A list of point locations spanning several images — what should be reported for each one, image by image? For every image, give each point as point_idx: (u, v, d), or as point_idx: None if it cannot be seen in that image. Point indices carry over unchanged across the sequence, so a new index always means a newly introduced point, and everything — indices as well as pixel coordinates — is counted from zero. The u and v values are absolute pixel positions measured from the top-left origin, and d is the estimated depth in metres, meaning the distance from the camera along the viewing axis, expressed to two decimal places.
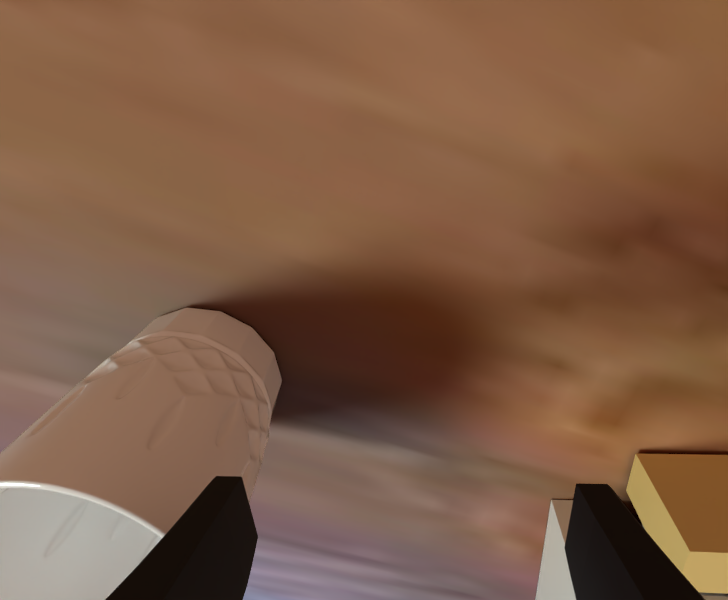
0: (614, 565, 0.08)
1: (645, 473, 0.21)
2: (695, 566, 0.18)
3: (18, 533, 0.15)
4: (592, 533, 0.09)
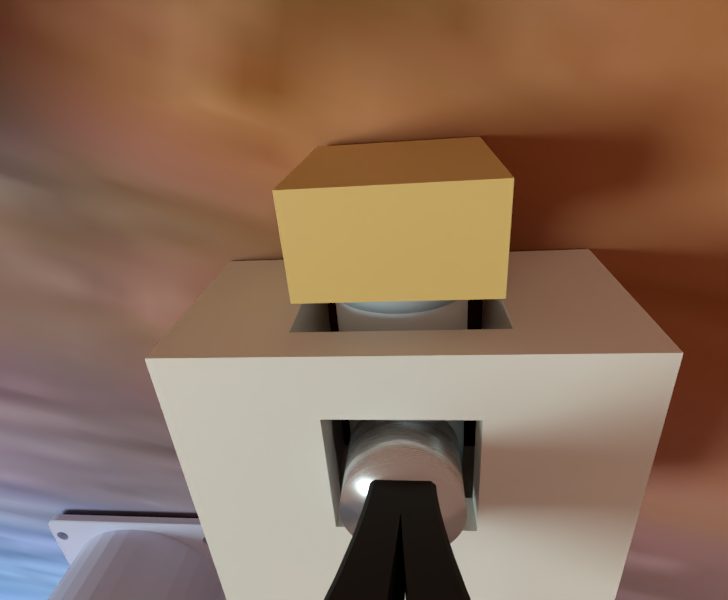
0: None
1: (310, 158, 0.12)
2: (298, 232, 0.09)
3: None
4: (402, 527, 0.09)
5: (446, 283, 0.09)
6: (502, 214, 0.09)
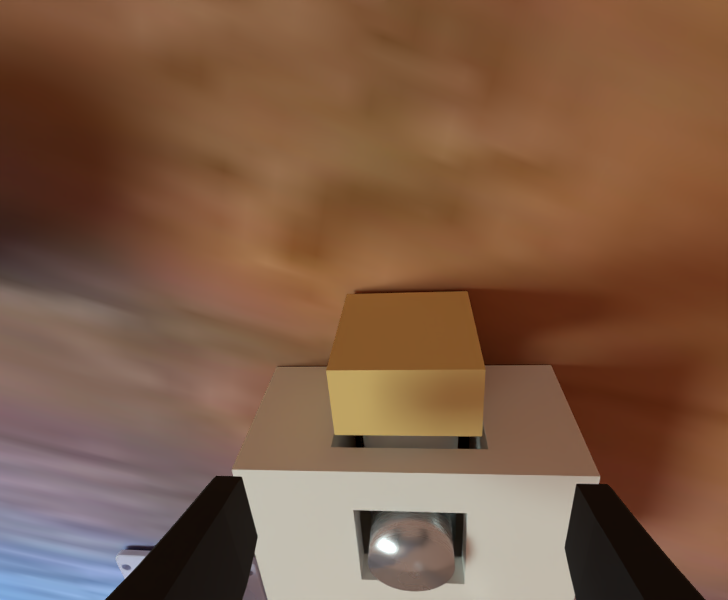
0: (614, 565, 0.08)
1: (343, 310, 0.17)
2: (342, 394, 0.14)
3: None
4: (592, 533, 0.09)
5: (441, 426, 0.14)
6: (478, 388, 0.13)
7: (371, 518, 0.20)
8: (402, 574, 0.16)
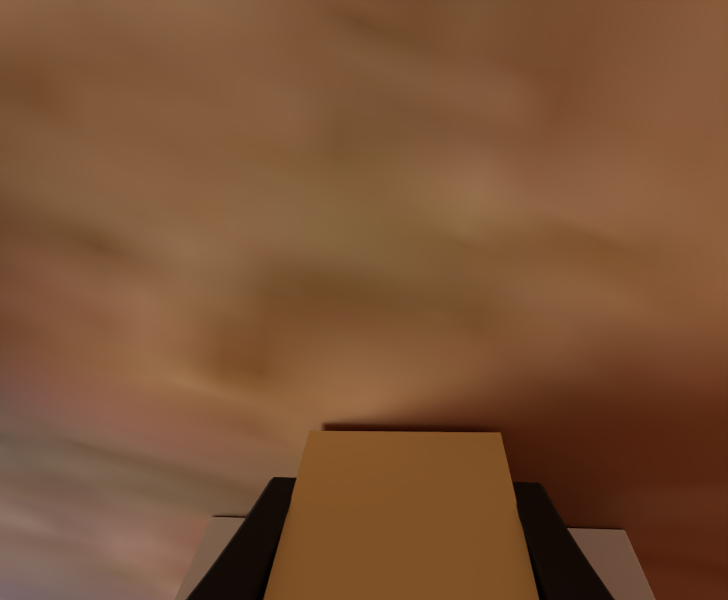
0: (532, 562, 0.08)
1: (301, 469, 0.10)
2: None
3: None
4: None
5: None
6: None
7: None
8: None
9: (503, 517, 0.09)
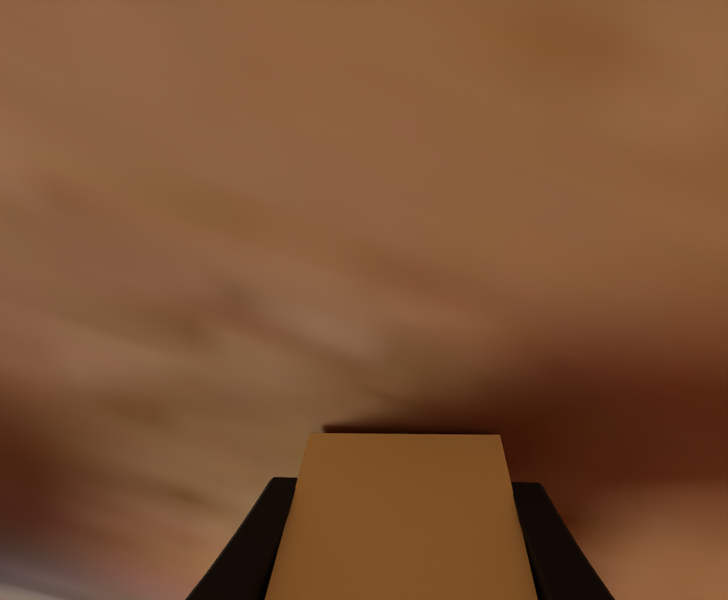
0: (532, 562, 0.08)
1: (301, 471, 0.10)
2: None
3: None
4: None
5: None
6: None
7: None
8: None
9: (502, 519, 0.09)
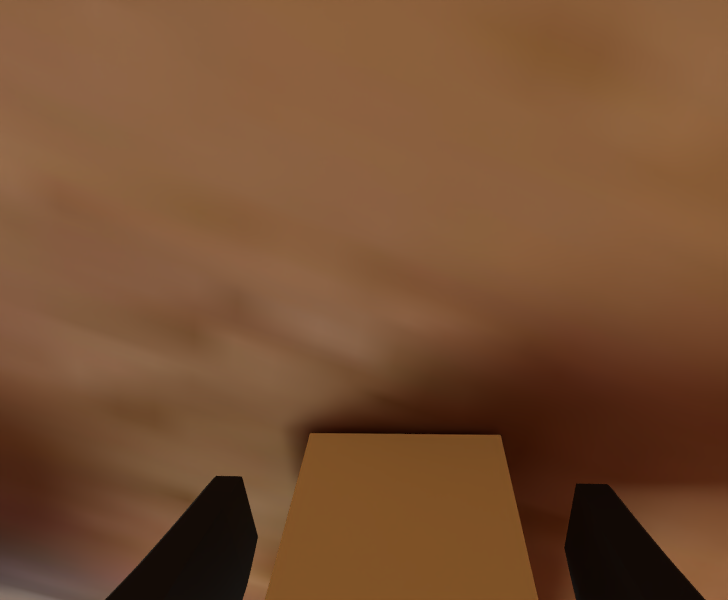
0: (614, 565, 0.08)
1: (301, 471, 0.10)
2: None
3: None
4: (592, 533, 0.09)
5: None
6: None
7: None
8: None
9: (503, 520, 0.09)
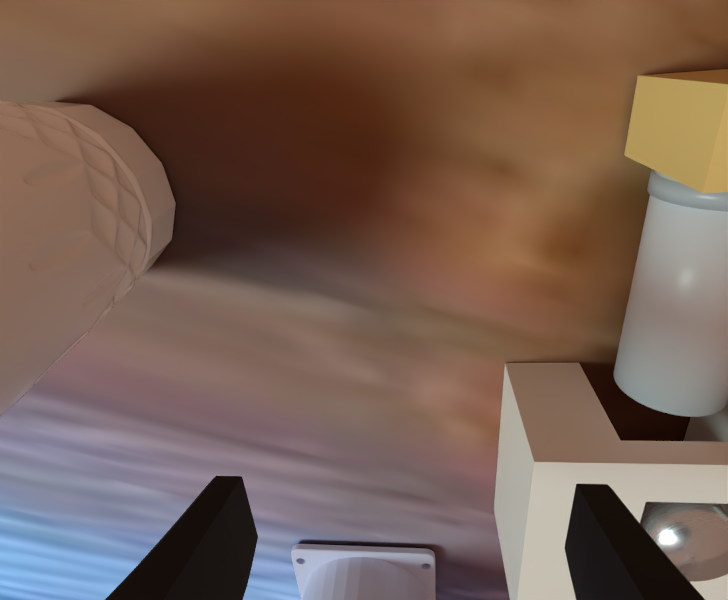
0: (614, 565, 0.08)
1: (652, 81, 0.14)
2: None
3: None
4: (592, 533, 0.09)
5: None
6: None
7: (629, 367, 0.17)
8: (687, 564, 0.16)
9: None
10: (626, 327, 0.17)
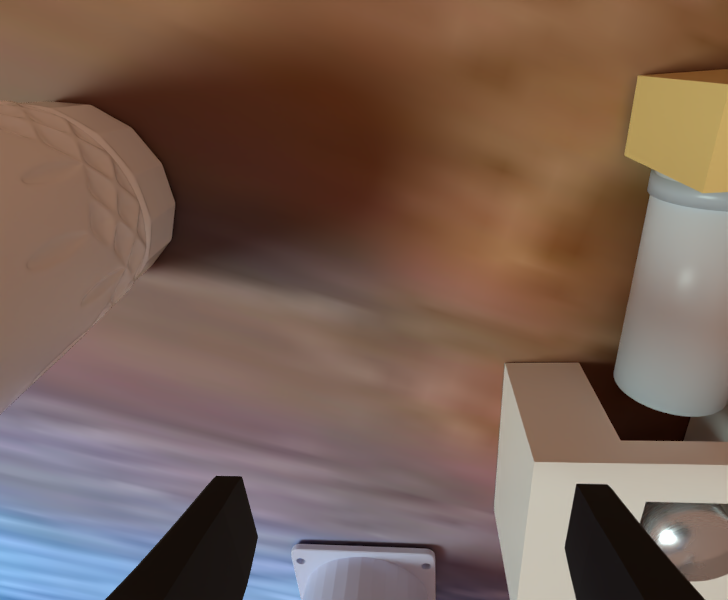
0: (614, 565, 0.08)
1: (652, 81, 0.14)
2: None
3: None
4: (592, 533, 0.09)
5: None
6: None
7: (629, 367, 0.17)
8: (687, 564, 0.16)
9: None
10: (626, 327, 0.17)
